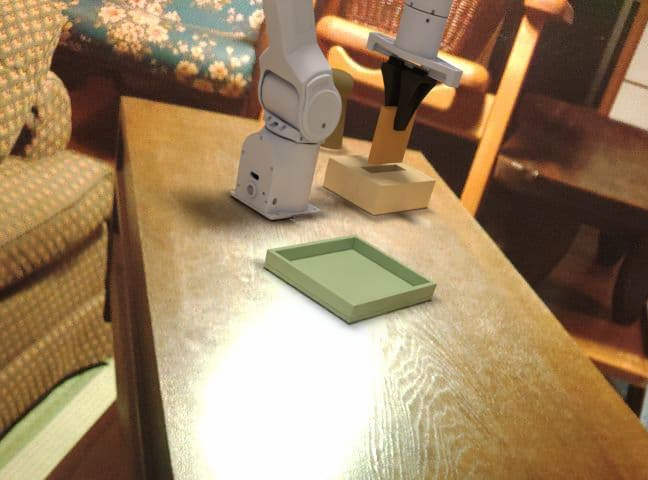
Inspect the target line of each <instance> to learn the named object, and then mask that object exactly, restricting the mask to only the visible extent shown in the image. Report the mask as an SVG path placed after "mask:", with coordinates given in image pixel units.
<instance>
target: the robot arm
mask: <svg viewBox="0 0 648 480" xmlns="http://www.w3.org/2000/svg"><path fill="white" fill-rule="evenodd" d="M261 1H262V8H263V15H264V20H265V27H266V32H267V34H266V35H267V40H268V46H267V47H266V48H265V50H263V52H262V53H261V54H260V55H259V57H258V63H259V80H258V85H257V98H258V102H259V105H260V107H261V108H262V110H263V116H262V121H264V125H263V127H262V128H261V129H260V130H259V131H257V132H253V133H251V134H249V135H248V136H247V137H246V138H245V139H244V141H243V143H242V146H241V149H240V156H239V164H238V169H237V177H236V183H235V189H234V190H230V191H229V194H230V196H231V197H233V198H235V199H237V201H240V202H241V203H243V204H244V205H246V206H247V207H249V208H251V209H252V210H254V211H256V212H257V213H259V214H261V215H262V216H263V217H265V218H267V219H268V220H272V221H274V220H281V219H289V218H293V216H297V215H298V216H299V215H306V214H313V213H314V214H315V213H320V212H321V211H322V210H321V209H320V208H319V207H317V206H315V205H313V203H311V202H310V201H309V200H310V197H311V196H310V195H311V191H312V186H313V181H314V176H315V172H316V168H317V163H318V159H319V153H320V148H321V146H320V144H321V143H325V139H326V138H327V137H328V136H330V135H331V133H332V132H333V131H334V130H335V128H336V126H337V124H338V122H339V120H340V116H341V111H342V102H341V97H340V94H339V92H338V91H337V89H336V88H335V85H334V82H333V77H332V69H331V68H332V67H331V65H330V64H329V61H328V60H327V58H326V57H325V55H324V53H323V51H322V49H321V47H320V46H319V44H318V37H317V30H316V29H317V27H316V19H315V10H314V9H315V8H314V0H261ZM453 4H454V0H405V1H404V5H403V9H402V13H401V15H400V21H399V25H398V28H397V32H396V36H395V38H394V37H390V36H388V35H385V34H383V33H380V32H378V31H369V33H368V37H367V41H366V45H365V49H367V50H369V51H372V52H376V53H378V54H380V55H382V56H384V57H387V58H388V59H387V61H382V62H381V65H380V72H381V76H382V82H383V92H384V106H396V107H397V111H396V115H395V119H394V125H393V129H394V130H396V131H405V130H406V128H407V126H408V124H409V122H410V120H411V118H412V116H413V115H414V113H415V111H416V110H417V111H418V108H419V106H420V105H421V104H422V103H423V101H424V100H425V98H426V97H427V96H428V94H430V92H431V91H432V90H433V89H434V88H435V87H436V86H437V83H438V82H441V83H442V84H443V85H444V86H446V87H448V88H456V89H457V88H459V86H460V83H461V80H462V77H463V73H464V70H463V69H461V68H459V67H456V66H454V65H453V64H452V63H449V62H447V60H444V59H443V58H441V57H439V56H438V54H439V51H440V48H441V44H442V41H443V40H442V39H443V37H444V34H445V30H446V27H447V23H448V20H449V16H450V13H451V10H452V6H453Z"/></svg>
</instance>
